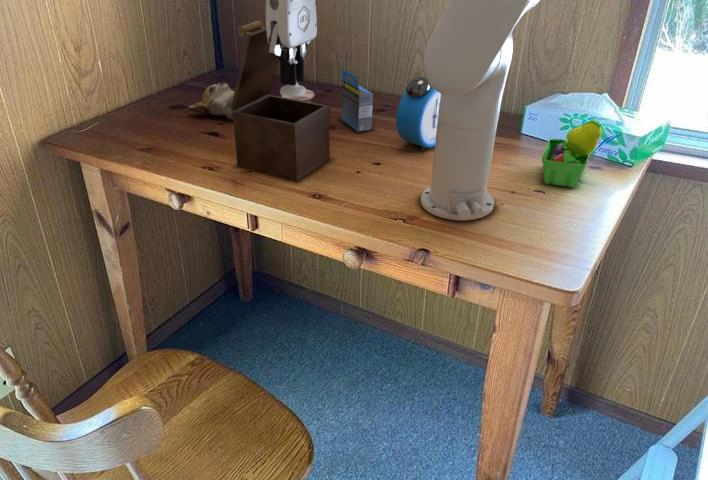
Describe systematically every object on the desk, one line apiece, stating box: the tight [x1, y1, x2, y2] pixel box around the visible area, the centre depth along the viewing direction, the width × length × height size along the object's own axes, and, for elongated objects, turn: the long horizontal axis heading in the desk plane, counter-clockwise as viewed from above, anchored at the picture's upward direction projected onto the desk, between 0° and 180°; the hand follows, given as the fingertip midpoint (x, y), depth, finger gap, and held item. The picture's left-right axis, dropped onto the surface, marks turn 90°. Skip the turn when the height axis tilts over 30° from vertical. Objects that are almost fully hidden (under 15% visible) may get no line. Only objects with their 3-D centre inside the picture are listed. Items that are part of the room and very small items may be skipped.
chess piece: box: [279, 47, 306, 97], centre depth 113 cm, size 5×5×10 cm
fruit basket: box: [541, 119, 603, 188], centre depth 113 cm, size 11×9×11 cm
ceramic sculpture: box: [185, 80, 244, 121], centre depth 148 cm, size 11×9×15 cm
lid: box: [231, 20, 280, 111], centre depth 118 cm, size 16×12×5 cm
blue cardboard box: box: [341, 67, 374, 133], centre depth 139 cm, size 9×4×12 cm, turn 22°
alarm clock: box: [395, 75, 441, 152], centre depth 127 cm, size 13×6×15 cm, turn 133°
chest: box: [232, 94, 331, 182], centre depth 123 cm, size 15×12×11 cm
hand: (292, 81), depth 115 cm, fingers closed on chess piece
